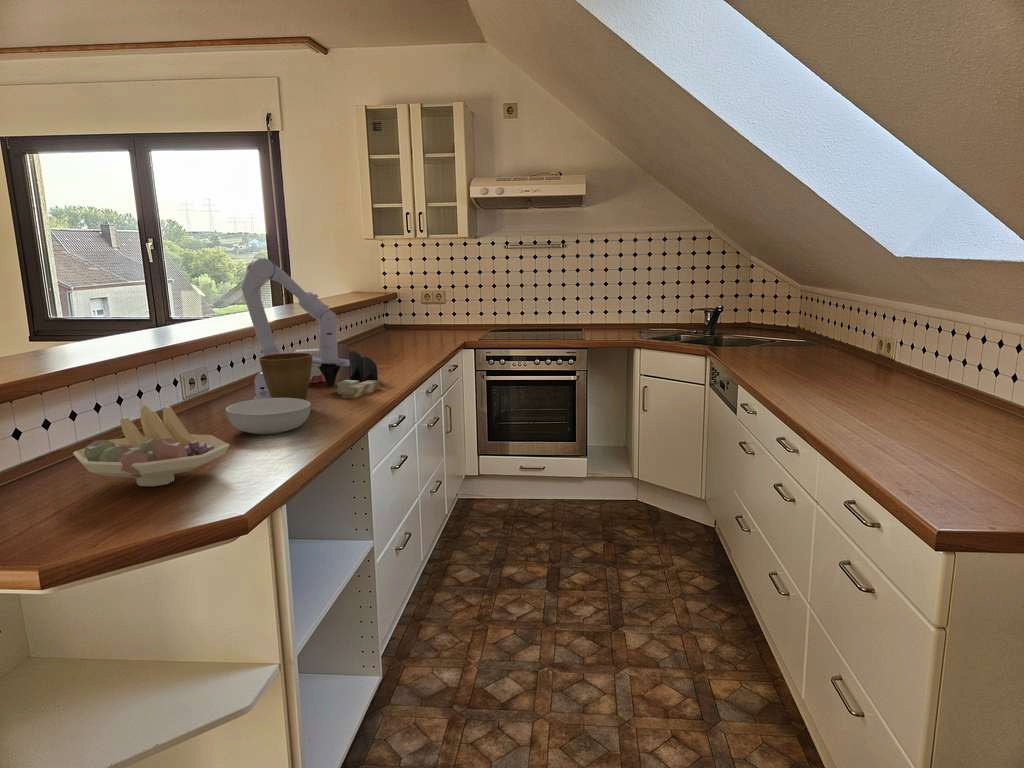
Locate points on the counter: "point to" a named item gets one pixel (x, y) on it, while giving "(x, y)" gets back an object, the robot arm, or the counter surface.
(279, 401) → the serving bowl
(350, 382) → the block
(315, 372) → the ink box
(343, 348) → the letter holder
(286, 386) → the plant pot
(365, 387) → the board
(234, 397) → the counter surface
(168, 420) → the dish with food
